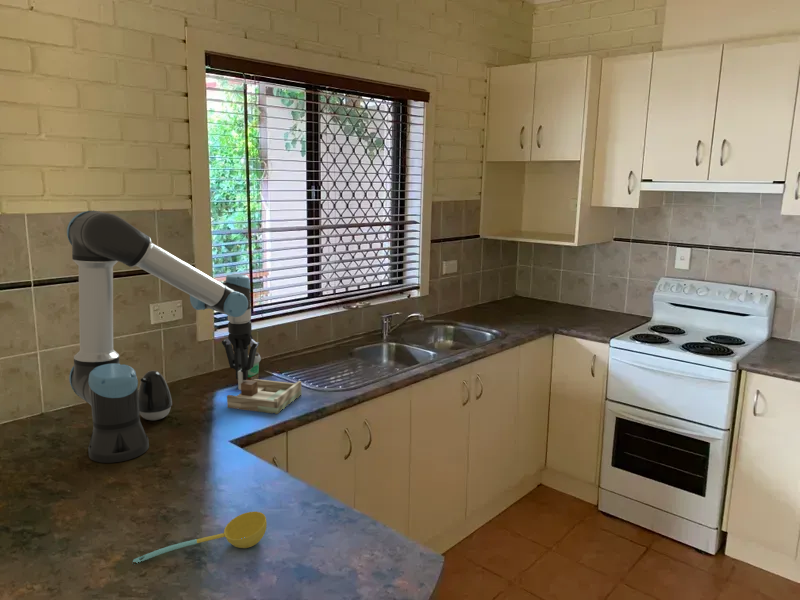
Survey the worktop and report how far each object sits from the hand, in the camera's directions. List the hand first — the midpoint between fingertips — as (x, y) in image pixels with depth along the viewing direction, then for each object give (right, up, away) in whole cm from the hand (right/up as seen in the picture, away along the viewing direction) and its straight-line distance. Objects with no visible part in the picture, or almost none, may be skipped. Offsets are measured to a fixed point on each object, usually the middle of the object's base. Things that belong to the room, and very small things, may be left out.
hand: (242, 388), depth 210 cm
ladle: (+13, -22, -83) cm, 87 cm away
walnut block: (+3, -2, 0) cm, 3 cm away
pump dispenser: (-23, -7, -16) cm, 29 cm away
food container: (-1, 0, +17) cm, 17 cm away
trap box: (+8, -4, -2) cm, 9 cm away
